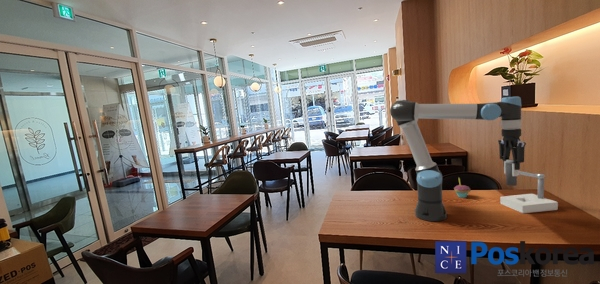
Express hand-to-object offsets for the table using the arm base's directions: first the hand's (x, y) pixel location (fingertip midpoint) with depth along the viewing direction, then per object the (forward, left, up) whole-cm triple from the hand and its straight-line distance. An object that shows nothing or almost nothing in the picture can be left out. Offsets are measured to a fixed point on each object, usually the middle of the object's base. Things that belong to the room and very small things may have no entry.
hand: (511, 174), depth 127 cm
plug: (0, 0, -5) cm, 5 cm away
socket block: (+14, +6, -20) cm, 25 cm away
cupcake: (-6, +29, -21) cm, 36 cm away
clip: (+20, +12, -7) cm, 24 cm away
